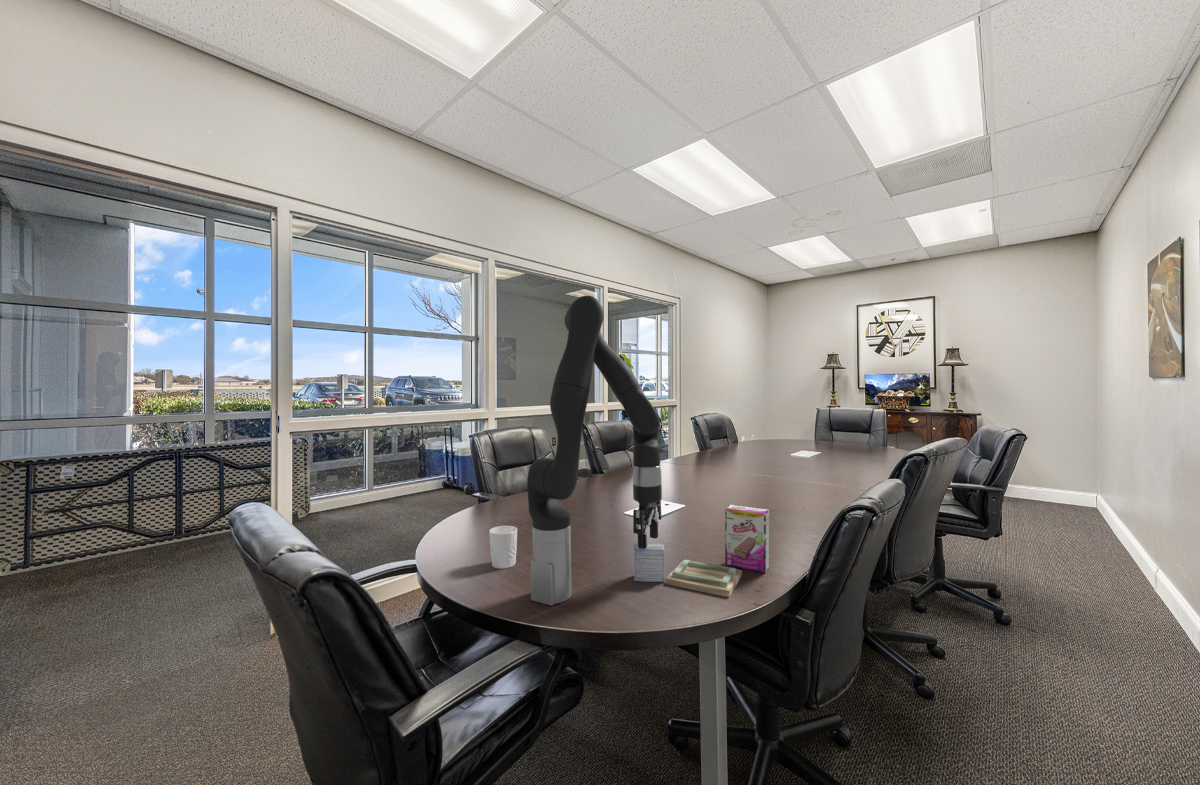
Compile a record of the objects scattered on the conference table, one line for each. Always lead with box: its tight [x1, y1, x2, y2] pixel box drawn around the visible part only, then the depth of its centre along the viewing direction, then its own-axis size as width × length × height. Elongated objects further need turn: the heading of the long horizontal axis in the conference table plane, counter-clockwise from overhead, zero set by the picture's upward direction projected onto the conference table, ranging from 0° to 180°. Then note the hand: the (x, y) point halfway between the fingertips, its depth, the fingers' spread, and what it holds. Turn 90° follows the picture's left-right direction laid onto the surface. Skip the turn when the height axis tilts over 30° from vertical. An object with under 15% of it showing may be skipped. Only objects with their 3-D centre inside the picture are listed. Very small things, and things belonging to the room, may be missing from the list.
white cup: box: [488, 525, 518, 570], centre depth 132 cm, size 8×8×10 cm
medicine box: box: [633, 543, 666, 583], centre depth 120 cm, size 8×4×9 cm, turn 84°
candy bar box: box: [724, 504, 770, 574], centre depth 128 cm, size 11×5×16 cm, turn 59°
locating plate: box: [665, 559, 743, 598], centre depth 119 cm, size 14×16×2 cm
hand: (648, 542), depth 121 cm, fingers open, 8 cm apart
